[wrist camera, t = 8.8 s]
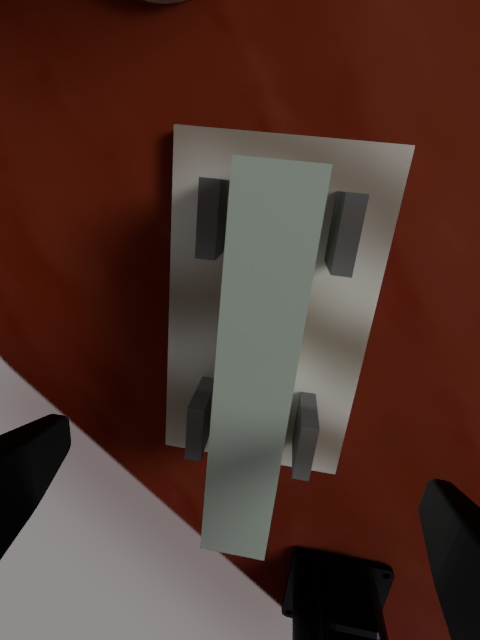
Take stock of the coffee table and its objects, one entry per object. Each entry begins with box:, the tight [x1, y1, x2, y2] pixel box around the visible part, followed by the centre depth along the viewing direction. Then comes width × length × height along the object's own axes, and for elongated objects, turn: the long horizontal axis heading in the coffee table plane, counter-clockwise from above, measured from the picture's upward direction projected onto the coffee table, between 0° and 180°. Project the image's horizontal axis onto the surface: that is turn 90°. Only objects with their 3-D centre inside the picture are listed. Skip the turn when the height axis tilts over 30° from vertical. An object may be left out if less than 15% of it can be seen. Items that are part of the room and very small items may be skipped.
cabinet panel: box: [166, 124, 415, 481], centre depth 17 cm, size 17×10×4 cm, turn 175°
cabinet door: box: [200, 155, 333, 561], centre depth 15 cm, size 14×2×7 cm, turn 175°
